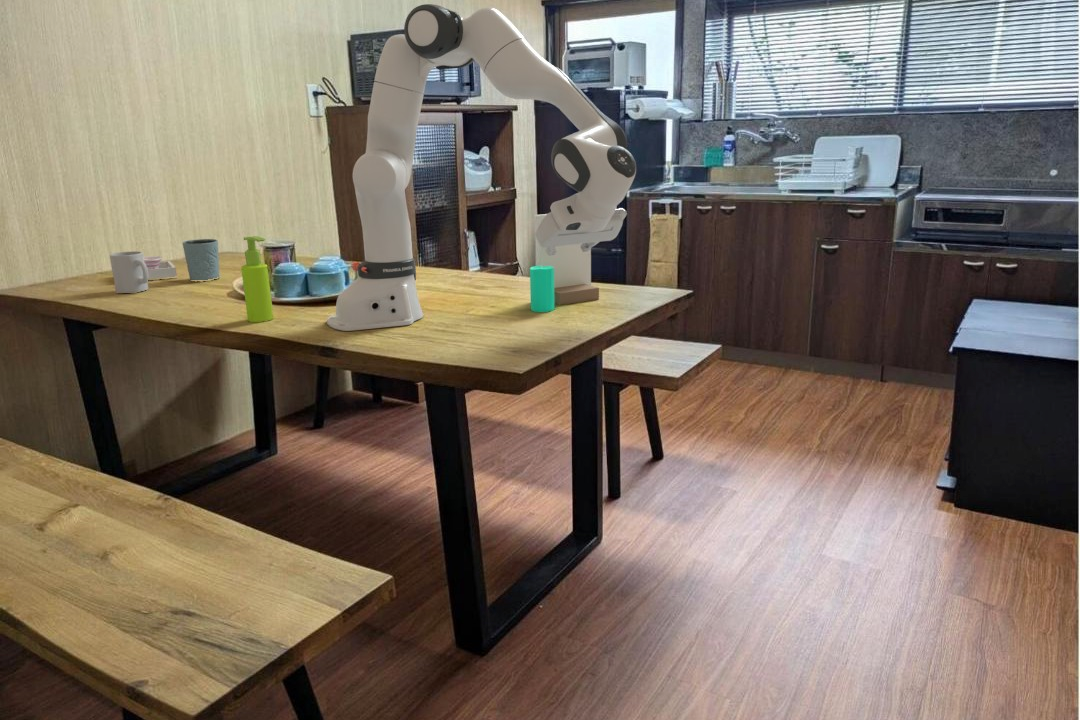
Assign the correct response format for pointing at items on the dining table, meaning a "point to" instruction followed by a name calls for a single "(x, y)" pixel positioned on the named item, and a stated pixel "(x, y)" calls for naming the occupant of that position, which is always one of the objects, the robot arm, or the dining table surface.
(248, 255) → the soap dispenser
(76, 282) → the dining table surface
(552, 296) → the candle
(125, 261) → the mug
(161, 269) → the tray
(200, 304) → the dining table surface
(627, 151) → the robot arm
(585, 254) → the tabletop board
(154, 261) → the teacup
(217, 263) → the blue embossed cup
